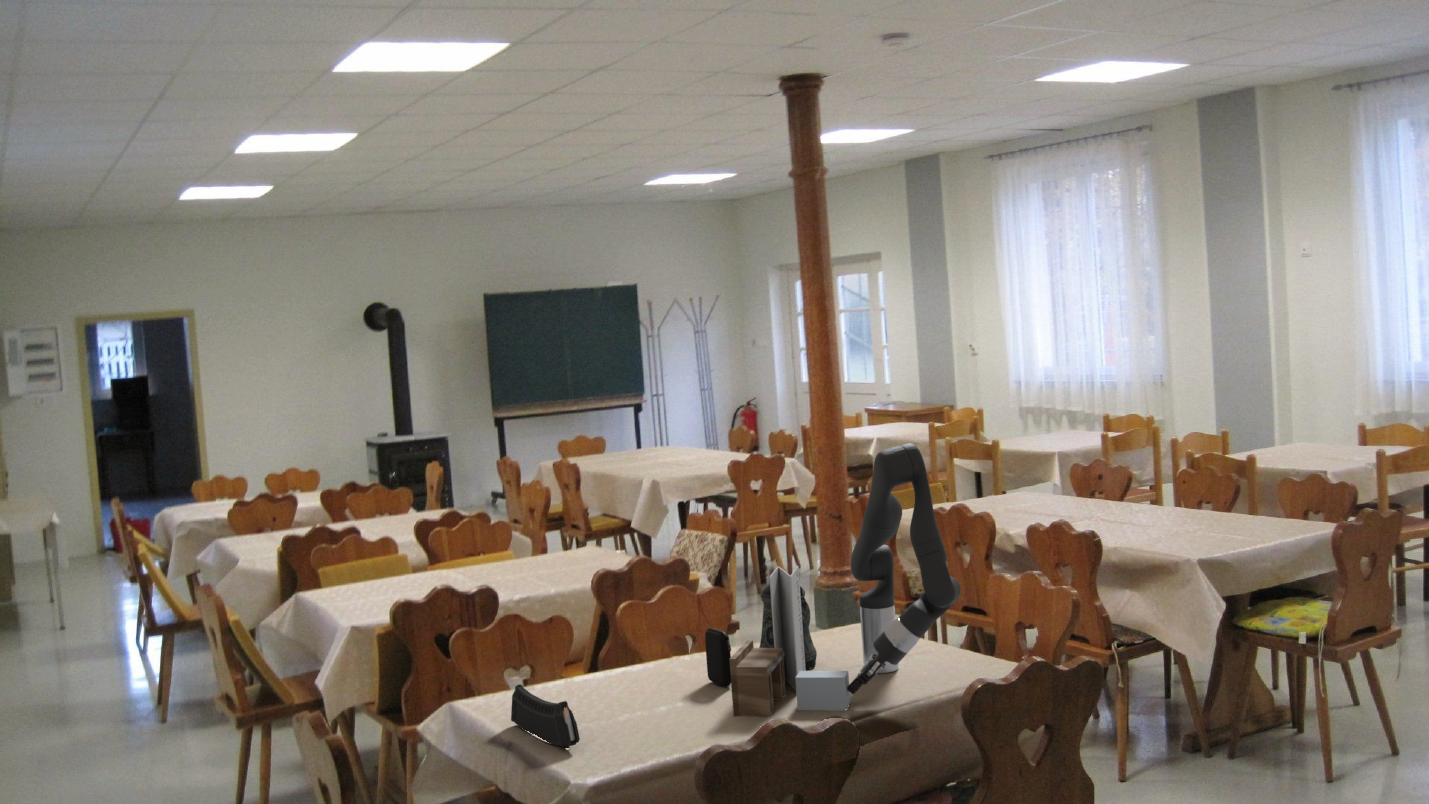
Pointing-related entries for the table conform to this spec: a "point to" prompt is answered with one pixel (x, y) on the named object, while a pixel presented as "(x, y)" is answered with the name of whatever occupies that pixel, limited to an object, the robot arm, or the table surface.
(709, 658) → the carrying case or bag
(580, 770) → the table surface
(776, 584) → the brochure
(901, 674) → the table surface
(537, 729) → the magazine
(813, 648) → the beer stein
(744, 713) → the cubby
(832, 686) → the grey block
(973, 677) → the table surface
